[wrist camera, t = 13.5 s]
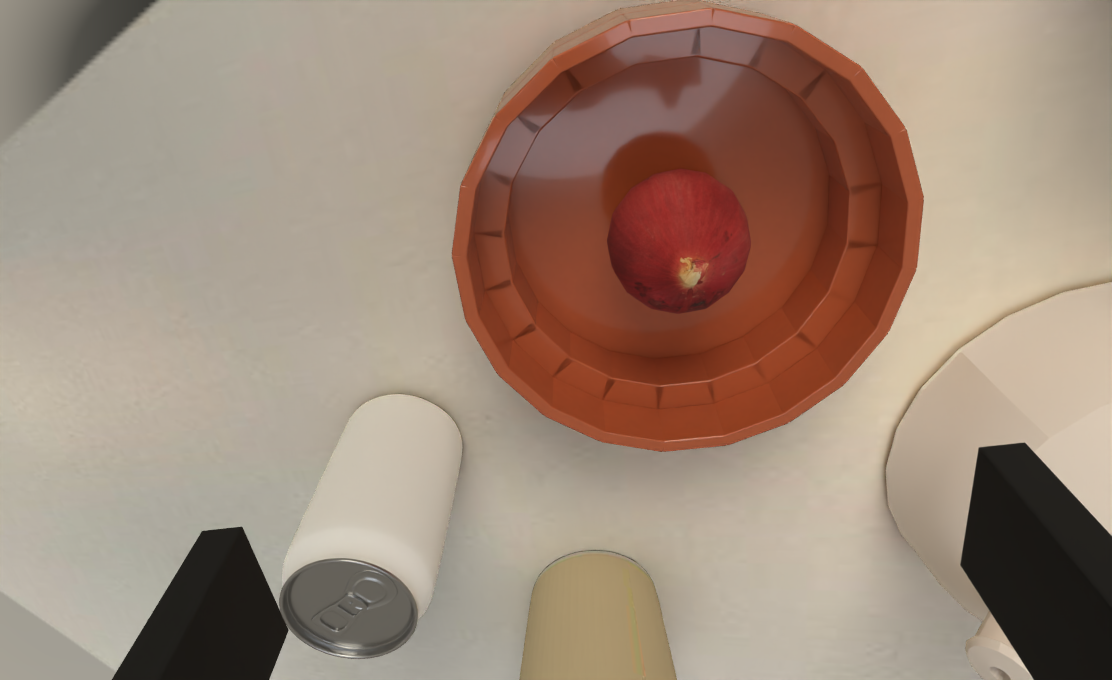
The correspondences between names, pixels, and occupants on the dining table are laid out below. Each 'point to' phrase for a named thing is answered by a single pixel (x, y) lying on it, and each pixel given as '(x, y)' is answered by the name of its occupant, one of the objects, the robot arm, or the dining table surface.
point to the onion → (679, 241)
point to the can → (374, 530)
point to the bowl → (732, 159)
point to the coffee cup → (595, 622)
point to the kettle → (1006, 438)
